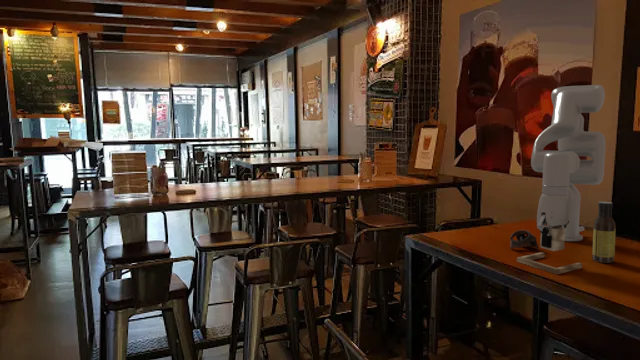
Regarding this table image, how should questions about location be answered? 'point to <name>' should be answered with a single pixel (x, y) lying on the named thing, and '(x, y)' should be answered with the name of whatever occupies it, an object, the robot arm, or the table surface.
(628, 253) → the table surface
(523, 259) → the oak bay
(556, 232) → the birch block
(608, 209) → the sauce bottle
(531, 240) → the broken clay pot rim
